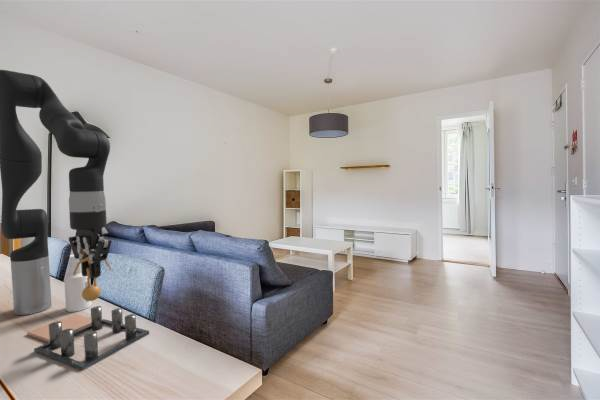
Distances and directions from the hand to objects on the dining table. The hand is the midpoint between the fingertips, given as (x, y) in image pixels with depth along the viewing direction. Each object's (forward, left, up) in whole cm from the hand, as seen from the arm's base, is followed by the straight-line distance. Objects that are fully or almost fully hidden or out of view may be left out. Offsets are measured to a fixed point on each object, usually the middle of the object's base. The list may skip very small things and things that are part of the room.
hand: (91, 275), depth 75 cm
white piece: (-27, +12, -18) cm, 35 cm away
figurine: (-2, 0, -6) cm, 6 cm away
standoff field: (0, 0, -18) cm, 18 cm away
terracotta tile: (-16, +1, -18) cm, 24 cm away
